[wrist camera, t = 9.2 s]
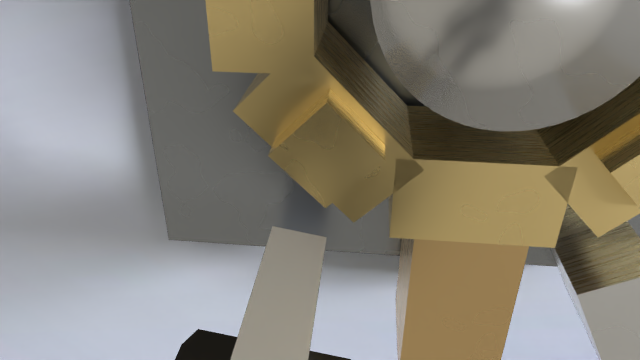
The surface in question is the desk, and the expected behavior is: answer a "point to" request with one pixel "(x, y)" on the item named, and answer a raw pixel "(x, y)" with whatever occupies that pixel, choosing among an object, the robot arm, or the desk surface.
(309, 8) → the octagonal block ring
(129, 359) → the desk surface
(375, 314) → the desk surface
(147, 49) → the grey base plate
